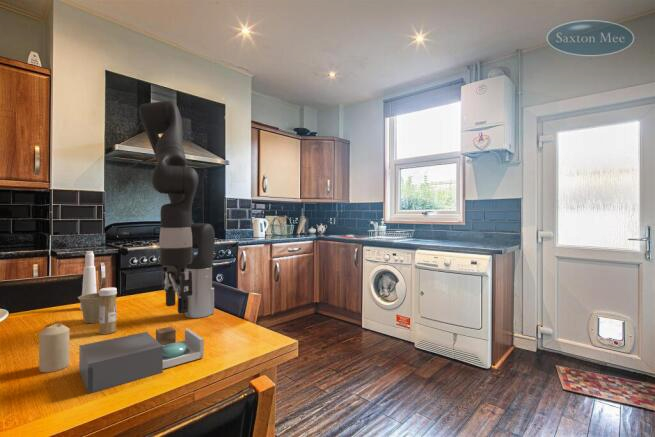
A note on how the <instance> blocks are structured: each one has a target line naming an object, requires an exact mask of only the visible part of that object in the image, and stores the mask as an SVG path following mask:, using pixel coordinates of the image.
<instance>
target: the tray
mask: <svg viewBox="0 0 655 437" xmlns="http://www.w3.org/2000/svg"><path fill="white" fill-rule="evenodd" d="M204 341H205V340H204V338H203V337H201V336H200V335H198V334H197V333H195V332H194V331H192V330H190V329H189V328H185V329H184V340H180V341H176V342H175V343H185V344H186V353H185V354H184V355H182V356H179V357H175V358H163V370H164V369H166V368H167V369H168V368H171V367H174V366H177V365H182V364H184V363H188V362H191V361H195V360H199V359H202V358H204V350H205V349H204V345H205V342H204ZM163 346H164V345H163Z"/></svg>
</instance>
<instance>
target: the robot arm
mask: <svg viewBox="0 0 655 437" xmlns="http://www.w3.org/2000/svg"><path fill="white" fill-rule="evenodd" d="M138 114H139V117H140V120H141V123H142V125H143V129H144V131H145V133H146V136H147V138H148V140H149V143H150V145H151V148H152V151H153V154H154V157H155V158H156V159H155V160H156V164H155V167H154V170H153V173H152V175H151V176H152V177H151V185H152V187H153V189H154V190H155V191H157V192H158V193H159V194H165V195H166V194H167V195H168V198H169V201H170V202H169V203H165V204H162V205H161V207H160V232H159V264H160V265H161V266H162V267H161V268H162V269H161V288H162V289H163V290H164V291H163V292H165V305H166V306H167V307H168V308H169V307H173V306H175V305H176V295H177V313H178V314H180V315H181V314H184V316H185V317H186V318H189V319H197V318H206V317H208V316H211V315H213V314H215V287H213V262H214V259H215V258H214V256H215V244H216V243H215V242H216V233H215V229H214V226H213V225H212V224H210V223H198V222H197V223H196V222H194V220H193V218H192V209H193V208H192V207H193V204H194V203H193V202H194V198H195V195H196V191H197V188H198V185H199V174H198V172H197V170H196V169H194V167H191V166H188V165H187V158H186V154H185V150H184V145H183V144H184V143H183V140H184V139H183V135H184V134H183V133H184V132H183V121H182V116H181V113H180V109H179V107H178V106H177V104H176V103H175V102H174V101H173V100H164V101H155V102H147V103H142V104H140V105H139V107H138ZM160 134H161V136H160ZM193 249H194V250H195V249H197V252H196V253H197V254H196V255H194V256H193Z"/></svg>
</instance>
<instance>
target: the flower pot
mask: <svg viewBox="0 0 655 437" xmlns="http://www.w3.org/2000/svg"><path fill="white" fill-rule="evenodd" d="M77 299H78V300H79V303H80V305H81V306H82V310H81V311H82V316H83V322H84V323H85V324H96V323H100V322H99V306H100V296H99V292H97V293H92V294H86V295H82V294H81V295H80V296H77Z"/></svg>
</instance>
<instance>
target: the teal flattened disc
mask: <svg viewBox="0 0 655 437" xmlns="http://www.w3.org/2000/svg"><path fill="white" fill-rule="evenodd" d="M185 353H186V344H185V343H170V344H166V345H164V346H163V358H175V357H179V356H182V355H184V354H185Z"/></svg>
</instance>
